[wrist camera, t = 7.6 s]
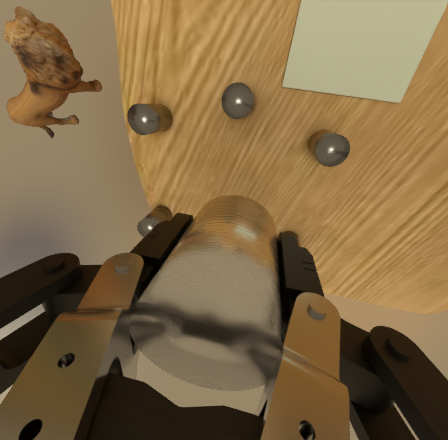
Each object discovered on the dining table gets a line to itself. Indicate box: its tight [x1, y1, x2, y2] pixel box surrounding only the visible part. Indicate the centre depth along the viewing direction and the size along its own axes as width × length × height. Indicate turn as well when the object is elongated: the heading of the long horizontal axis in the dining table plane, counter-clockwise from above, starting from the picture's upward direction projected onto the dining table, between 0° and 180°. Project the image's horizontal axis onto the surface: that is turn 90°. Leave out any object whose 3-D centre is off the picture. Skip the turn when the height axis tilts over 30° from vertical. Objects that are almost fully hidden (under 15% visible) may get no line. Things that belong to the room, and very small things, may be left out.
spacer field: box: [128, 83, 350, 247], centre depth 27 cm, size 23×23×5 cm
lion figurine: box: [4, 7, 102, 138], centre depth 23 cm, size 15×5×9 cm, turn 135°
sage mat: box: [282, 0, 448, 103], centre depth 18 cm, size 12×14×1 cm
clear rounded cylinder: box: [130, 195, 284, 391], centre depth 8 cm, size 4×4×6 cm
